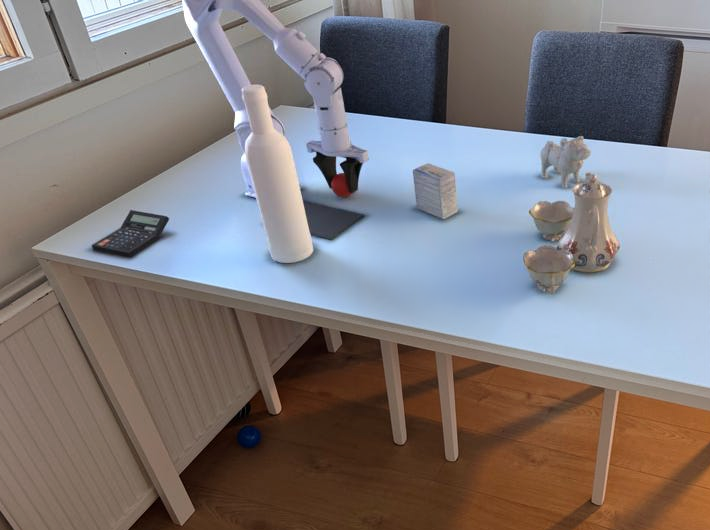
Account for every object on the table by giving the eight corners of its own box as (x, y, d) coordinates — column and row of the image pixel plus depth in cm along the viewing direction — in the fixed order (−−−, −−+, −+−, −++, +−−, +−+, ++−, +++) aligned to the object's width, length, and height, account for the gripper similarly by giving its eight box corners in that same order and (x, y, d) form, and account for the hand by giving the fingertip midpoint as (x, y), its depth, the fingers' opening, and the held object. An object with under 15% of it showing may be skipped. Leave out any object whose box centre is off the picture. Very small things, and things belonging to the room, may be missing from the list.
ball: (328, 198, 142) (324, 176, 139) (342, 189, 146) (338, 167, 143) (347, 202, 141) (343, 180, 137) (361, 193, 144) (357, 171, 141)
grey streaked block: (458, 212, 135) (456, 172, 130) (443, 220, 133) (439, 179, 127) (431, 202, 139) (428, 162, 134) (416, 209, 137) (411, 169, 131)
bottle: (322, 248, 125) (288, 83, 107) (293, 267, 120) (251, 98, 102) (292, 239, 129) (253, 77, 110) (262, 257, 124) (216, 91, 105)
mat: (268, 224, 134) (267, 222, 134) (303, 202, 142) (303, 200, 141) (330, 240, 128) (330, 238, 128) (364, 216, 135) (364, 214, 135)
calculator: (93, 249, 129) (86, 235, 127) (137, 222, 137) (132, 209, 135) (130, 256, 126) (124, 242, 124) (173, 228, 134) (168, 215, 132)
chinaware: (524, 231, 131) (515, 149, 121) (610, 221, 129) (608, 138, 119) (528, 313, 109) (517, 222, 99) (631, 303, 107) (631, 209, 97)
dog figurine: (576, 194, 140) (579, 144, 133) (535, 175, 148) (536, 128, 141) (594, 187, 142) (598, 138, 135) (553, 169, 150) (555, 121, 143)
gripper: (373, 123, 134) (382, 187, 142) (317, 114, 139) (328, 176, 148) (352, 135, 129) (362, 200, 137) (294, 125, 134) (308, 188, 143)
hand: (343, 189), depth 142 cm, fingers closed on ball, 5 cm apart
